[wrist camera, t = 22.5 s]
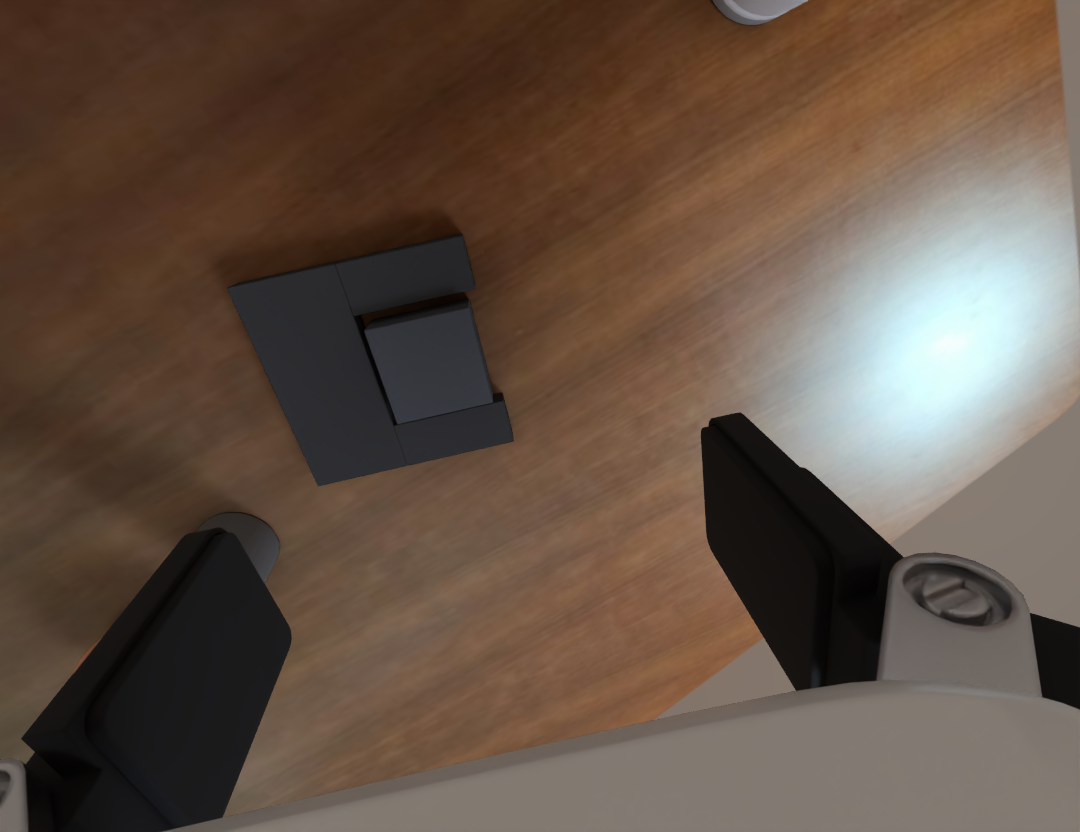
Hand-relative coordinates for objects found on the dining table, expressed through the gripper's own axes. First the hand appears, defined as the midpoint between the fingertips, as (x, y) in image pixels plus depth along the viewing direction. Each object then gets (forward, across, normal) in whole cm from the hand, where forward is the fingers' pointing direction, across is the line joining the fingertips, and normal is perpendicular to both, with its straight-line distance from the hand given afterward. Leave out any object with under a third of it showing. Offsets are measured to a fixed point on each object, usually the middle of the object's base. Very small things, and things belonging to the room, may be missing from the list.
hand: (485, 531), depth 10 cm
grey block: (+25, +4, +4) cm, 26 cm away
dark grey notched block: (+25, +7, +4) cm, 26 cm away
